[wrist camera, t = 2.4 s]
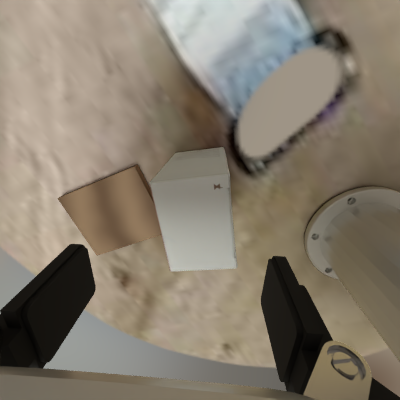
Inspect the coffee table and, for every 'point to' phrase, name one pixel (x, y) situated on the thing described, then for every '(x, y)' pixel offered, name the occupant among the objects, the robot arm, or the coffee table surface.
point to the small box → (196, 210)
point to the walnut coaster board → (114, 211)
